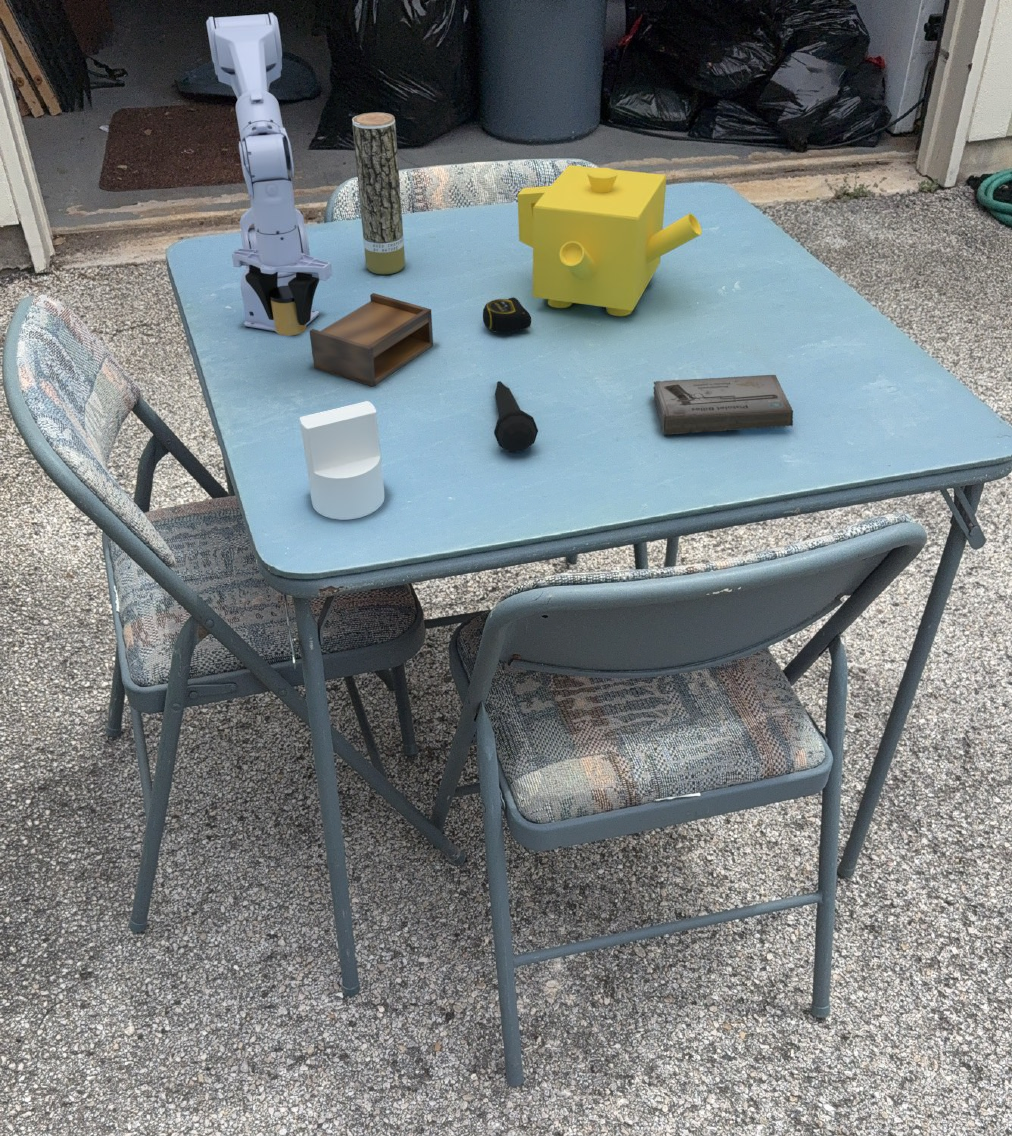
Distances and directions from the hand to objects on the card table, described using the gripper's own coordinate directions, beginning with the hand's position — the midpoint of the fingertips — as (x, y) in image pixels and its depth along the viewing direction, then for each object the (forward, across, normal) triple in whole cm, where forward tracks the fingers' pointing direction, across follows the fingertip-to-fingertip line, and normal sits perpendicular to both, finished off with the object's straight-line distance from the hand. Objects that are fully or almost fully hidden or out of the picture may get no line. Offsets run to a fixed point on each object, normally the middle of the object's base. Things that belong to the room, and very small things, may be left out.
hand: (289, 319), depth 161 cm
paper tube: (+9, -4, +39) cm, 40 cm away
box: (+9, +61, +9) cm, 62 cm away
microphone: (+9, +35, -2) cm, 36 cm away
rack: (+9, +8, +9) cm, 15 cm away
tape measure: (+9, +24, +25) cm, 36 cm away
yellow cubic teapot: (+9, +34, +41) cm, 54 cm away
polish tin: (+1, 0, 0) cm, 1 cm away
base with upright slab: (+9, +22, -26) cm, 35 cm away
